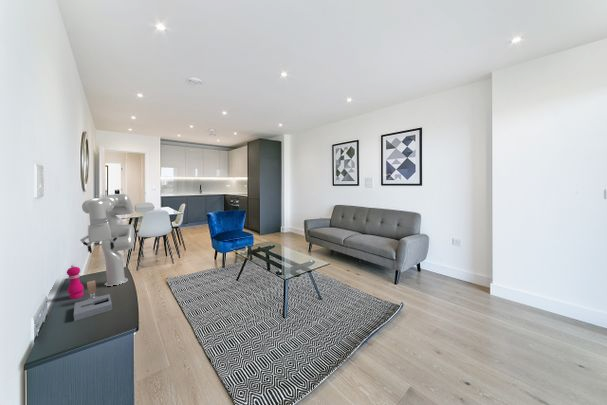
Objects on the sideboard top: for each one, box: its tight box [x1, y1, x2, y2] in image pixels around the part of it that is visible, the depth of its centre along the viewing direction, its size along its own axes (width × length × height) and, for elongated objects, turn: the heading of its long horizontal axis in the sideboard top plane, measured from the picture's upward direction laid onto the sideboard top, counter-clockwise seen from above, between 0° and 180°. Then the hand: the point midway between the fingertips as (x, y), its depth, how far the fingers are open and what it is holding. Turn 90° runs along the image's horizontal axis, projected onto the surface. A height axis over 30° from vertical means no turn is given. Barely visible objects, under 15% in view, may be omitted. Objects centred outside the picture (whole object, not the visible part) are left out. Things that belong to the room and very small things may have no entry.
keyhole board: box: [73, 293, 113, 322], centre depth 133 cm, size 17×15×3 cm
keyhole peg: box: [86, 279, 99, 299], centre depth 144 cm, size 5×5×11 cm
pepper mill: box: [66, 264, 85, 300], centre depth 149 cm, size 7×7×20 cm
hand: (101, 250), depth 144 cm, fingers open, 9 cm apart
